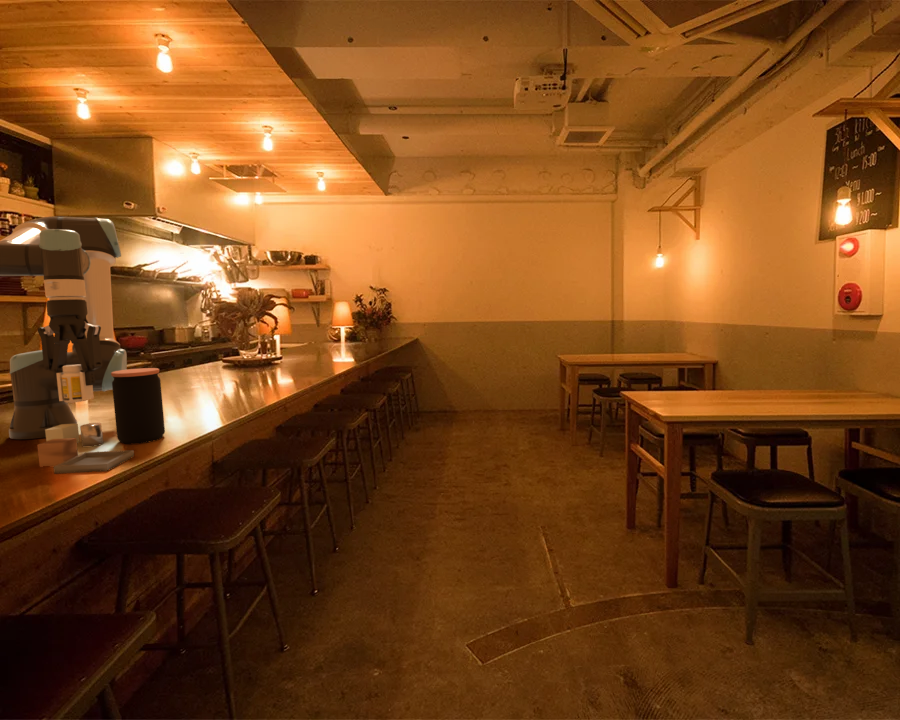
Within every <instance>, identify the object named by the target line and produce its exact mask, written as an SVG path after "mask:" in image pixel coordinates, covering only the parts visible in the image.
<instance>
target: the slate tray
mask: <svg viewBox="0 0 900 720" xmlns="http://www.w3.org/2000/svg"><path fill="white" fill-rule="evenodd" d="M133 456H134V457H135V451H134V450H133V449H131V450H109V451H108V450H105V451H86V452H83V453H80V454H78V456H76V457H74V458H71V459H69V460H67V461H65V462H63V463H60V464H58V465H56V466H53V474H54V475H55V474H72V473H73V474H74V473H76V472H77V473H93V472H92V471H97V472H108V471H107V470H109V469H110V470H112V469H114V468H116V467H117V465H118V466H120V465H121V464H123V463H125V462H127V461H128V459H129V460H130V458H131V457H132V458H134V457H133ZM132 458H131V459H132ZM126 460H127V461H126ZM124 461H125V462H124ZM122 462H123V463H122ZM120 463H121V464H120ZM119 464H120V465H119ZM115 466H116V467H115ZM113 467H114V468H113ZM111 468H112V469H111ZM110 470H109V471H110Z"/></svg>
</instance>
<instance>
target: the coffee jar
mask: <svg viewBox="0 0 900 720" xmlns="http://www.w3.org/2000/svg"><path fill="white" fill-rule="evenodd" d="M159 374H160V368H157V367H149V368H148V367H145V368H143V367H142V368H140V367H139V368H130V369H126V370H120V371H114V372H112V373H111V375H112V376H113V378H114V380H113V382H112V389H113V390H112V396H113V398H112V399H113V408H114V419H115V427H116V428H115V430H116V437H117V440H118V441H119V442H120V443H121V444H123V443H124V445H132V444H131V443H139V444H144V443H143V442H146V443H150V442H149V441H151V442H154V441H153V440H155V441H158V440H160V439H162V438H163V436H164V434H165V432H166V429H165V420H164V417H165V416H164V406H163V395H162V385H161V383H162V382H161V378H160V377H159ZM157 439H158V440H157Z"/></svg>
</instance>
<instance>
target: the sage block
mask: <svg viewBox="0 0 900 720" xmlns="http://www.w3.org/2000/svg"><path fill="white" fill-rule="evenodd" d="M79 432H80V431H79V424H78V423H77V424H61V425H58V426H55V427H52V428H49V429H46V430H45V433H46V437H45V442H46V441H49V440H52V439H65V438H76V442H79V443H80V435H79Z"/></svg>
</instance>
